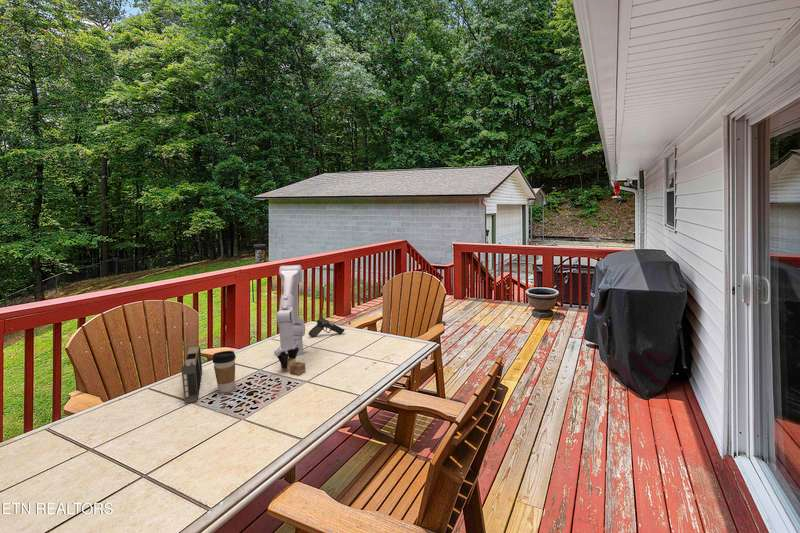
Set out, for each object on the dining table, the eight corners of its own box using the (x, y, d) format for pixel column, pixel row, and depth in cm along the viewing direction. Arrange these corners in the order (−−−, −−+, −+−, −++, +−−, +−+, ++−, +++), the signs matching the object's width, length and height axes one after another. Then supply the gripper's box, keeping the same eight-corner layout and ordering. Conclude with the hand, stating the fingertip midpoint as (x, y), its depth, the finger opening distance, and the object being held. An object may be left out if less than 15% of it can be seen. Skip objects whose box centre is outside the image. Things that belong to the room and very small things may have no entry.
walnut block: (290, 374, 172) (289, 365, 172) (297, 370, 176) (296, 361, 176) (298, 375, 170) (298, 366, 170) (305, 372, 175) (304, 363, 174)
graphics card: (198, 402, 150) (194, 365, 148) (184, 405, 148) (180, 367, 146) (202, 371, 180) (200, 340, 178) (191, 373, 178) (188, 342, 177)
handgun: (307, 334, 224) (319, 315, 224) (307, 333, 226) (318, 315, 226) (334, 348, 229) (345, 329, 229) (333, 347, 231) (344, 328, 231)
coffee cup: (210, 391, 159) (207, 354, 157) (229, 383, 166) (227, 348, 164) (223, 396, 155) (220, 358, 153) (242, 387, 162) (239, 351, 160)
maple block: (281, 369, 178) (280, 360, 178) (288, 365, 182) (287, 357, 182) (289, 371, 176) (288, 362, 176) (296, 367, 180) (295, 358, 180)
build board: (271, 375, 173) (271, 374, 173) (288, 366, 183) (288, 365, 183) (297, 380, 167) (297, 379, 167) (314, 371, 177) (314, 369, 177)
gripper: (282, 342, 169) (284, 373, 171) (304, 332, 182) (306, 361, 184) (269, 340, 172) (271, 371, 174) (292, 331, 185) (293, 359, 187)
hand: (288, 366), depth 179 cm, fingers closed on maple block, 4 cm apart
